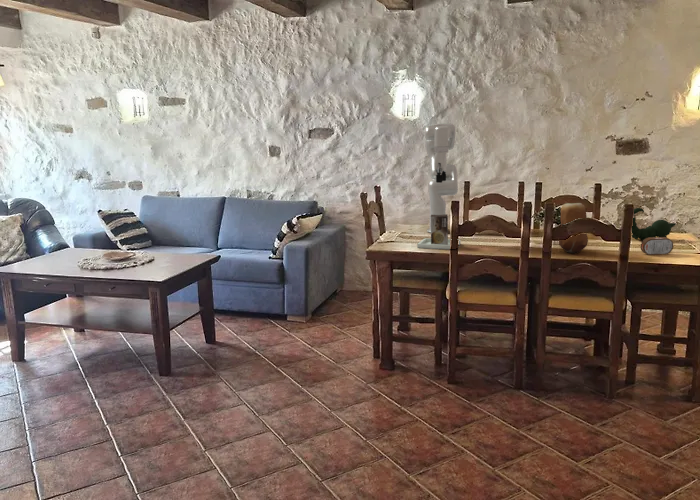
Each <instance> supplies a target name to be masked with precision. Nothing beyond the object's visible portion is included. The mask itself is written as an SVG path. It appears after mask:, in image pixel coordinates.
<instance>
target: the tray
mask: <svg viewBox="0 0 700 500" xmlns="http://www.w3.org/2000/svg"><path fill="white" fill-rule="evenodd" d="M450 239H451V238H450ZM450 239H449V238H448V245H438V244H431V237H430V238H428V237H427V238H423V239H422V240H420V241H419V242H418V243H417V246H416V247H417V249H432V250H446V251H447V250H449V249H450ZM458 240H459V246H460V245H461V239H458ZM449 251H450V250H449Z"/></svg>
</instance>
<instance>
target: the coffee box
mask: <svg viewBox="0 0 700 500" xmlns="http://www.w3.org/2000/svg"><path fill="white" fill-rule="evenodd" d="M448 221H449V216H448V214H447V213H446V214H438V215H431V233H430V239H431V244H438V245H448V239H449V235H448V234H449V229H448V228H449V226H448V223H449V222H448Z"/></svg>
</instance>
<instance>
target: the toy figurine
mask: <svg viewBox="0 0 700 500" xmlns="http://www.w3.org/2000/svg"><path fill="white" fill-rule="evenodd" d="M633 210H634V218H633V226H632V233H631V236H632V237H631V238H632V239H634V240H642V241H643V240H644V239H646V238H649V237H667V236H670V233H671V231H672V228H674V227H675V226H677V223H674V222H673V223H672V222H669V221H667V220H666V219H657V220H655V221H653V222H652V224H651V225H649V226H646V227H644V228H642V227H641V228H639V227H638V224H637V222H636V221H637V220H636V217H635V214H638V213H639V212H642V213H644V212H645V210H644V209H643V208H642V207H636V208H633ZM667 238H668V237H667Z"/></svg>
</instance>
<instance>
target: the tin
mask: <svg viewBox="0 0 700 500" xmlns="http://www.w3.org/2000/svg"><path fill="white" fill-rule="evenodd" d="M673 249H674V241H673V240H672V239H671V238H669V237H649V238H646V239H644V240H642V241H641V244H640V250H641V252H642V253H643V254H646V255H647V256H660V255H661V256H662V255H664V256H665V255H666V256H667V255H668V254H670V253H671V252H672V251H673Z"/></svg>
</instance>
